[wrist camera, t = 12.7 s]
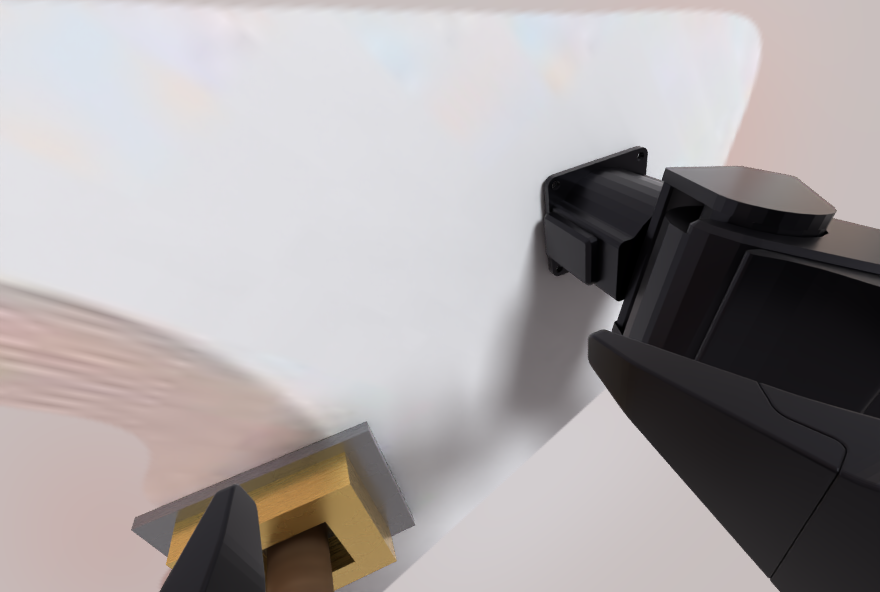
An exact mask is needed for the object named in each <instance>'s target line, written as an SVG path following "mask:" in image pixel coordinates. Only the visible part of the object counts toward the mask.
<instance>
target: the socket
mask: <svg viewBox="0 0 880 592" xmlns="http://www.w3.org/2000/svg"><path fill="white" fill-rule="evenodd" d="M235 483H236V484H239V485H240V486H241V487H242V488H243V489H244V490H245V491H246V492H247V494H248V495H249V496H250V497H251V498H252V499H253V500H254V502H255V504H256V506H257V510H258V519H259V527H260V536H261V545H262V554H263V563H264V572H265V592H267V548H268V547H270V546H272V545H274V544H276V543H279V542H281V541H283V540H285V539H288V538H290V537H292V536H294V535H297V534H299V533H301V532H303V531H305V530H308V529H310V528H312V527H314V526H317V525H319V524H321V523H323V522H326V523H327V532H328V541H329V550H330V559H331V568H332V577H333V586H334V591H335V590H337V589H339V588H341V587H343V586H345V585H347V584H350V583H352V582H354V581H356V580H358V579H360V578H362V577H364V576H366V575H368V574H370V573H373V572H375V571H377V570H379V569H381V568H383V567H385V566H387V565H389V564H391V563H394V562H396V561H397V560H396V555H395V551H394V547H393V542H392V538H391V536H393V535H395V534H397V533H399V532H401V531H404V530H406V529H408V528H410V527H412V526H414V525H415V523H414V519H413V516H412V514H411V512H410V510H409V508H408V506H407V504H406V501H405V499H404V497H403V495H402V493H401V491H400V489H399V487H398V485H397V483H396V481H395V479H394V477H393V475H392V473H391V471H390V469H389V467H388V464H387V462H386V460H385V458H384V456H383V454H382V452H381V450H380V448H379V446H378V444H377V442H376V440H375V438H374V436H373V434H372V432H371V430H370V427H369V425H368V423H367V422H365V423H362V424H360V425H357V426H355V427H353V428H350V429H348V430H345V431H343V432H341V433H338V434H336V435H333V436H331V437H328V438H326V439H324V440H321V441H319V442H316V443H314V444H312V445H309V446H307V447H304V448H302V449H299V450H297V451H295V452H292V453H290V454H287V455H285V456H283V457H280V458H278V459H275V460H273V461H271V462H268V463H266V464H263V465H261V466H258V467H256V468H254V469H251V470H249V471H246V472H244V473H242V474H239V475H237V476H234V477H232V478H229V479H227V480H225V481H222V482H220V483H217V484H215V485H213V486H210V487H208V488H205V489H203V490H201V491H198V492H196V493H193V494H191V495H188V496H186V497H184V498H181V499H179V500H176V501H174V502H172V503H169V504H167V505H164V506H162V507H160V508H157V509H155V510H152V511H150V512H148V513H145V514H143V515H140V516H138V517H136V518H135V520H134V523H133V526H132V529H131V530H132V531H133V532H135V533H136V534H137V535H139V536H140V537H141V538H143V539H144V540H145V541H147V542H148V543H149V544H151V545H152V546H153V547H155V548H156V549H157V550H159V551H160V552H161V553H163V554H164V555H165V556H167V557H168V558H167V562H166V565H167V566H168V567H170V568H171V569H173V567H174V565H175V563H176V562H177V560H178V558H179V556H180V555H181V553H182V551H183V549H184V548H185V546H186V544H187V542H188V541H189V539H190V537H191V535H192V534H193V532H194V530H195V528H196V527H197V525H198V523H199V521H200V519H201V518H202V516H203V514H204V512H205V511H206V509H207V507H208V505H209V504H210V502H211V500H212V498H213V497H214V495H215V494H216V492H217V491H218V490H220V489H222V488H225V487H227V486H229V485H232V484H235Z"/></svg>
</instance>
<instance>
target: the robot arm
mask: <svg viewBox="0 0 880 592" xmlns="http://www.w3.org/2000/svg"><path fill="white" fill-rule="evenodd" d="M638 154H639V156H638V158H637V155H638ZM647 156H648V152H647V149H646V148H644V147H640V146H636V147H633V148H630V149H627V150H624V151H621V152H618V153H615V154H612V155H609V156H606V157H603V158H600V159H597V160H594V161H591V162H588V163H585V164H582V165H580V166H577V167H574V168H571V169H568V170H565V171H562V172H559V173H556V174H553V175H551V176H549V177H548V178H547V179H546V181H545V184H544V191H545V209H546V215H545V218H544V226H545V242H546V254H547V255H548V260H549V270H550V272H551V273H552V274H554V275H555V276H560V275H563V274H565V273H568V272H570V273H572V274H573V275H574V276H576V277H577V278H578V279H580V280H581V281H582V282H583V283H585V284H587V285H592V284H595V285H596V286H598V287H599V288H600V289H602V290H603V291H604V292H606V293H607V294H608V295H610V296H611V297H612V298H614V299H615V300H617V301H622V300H624V302H623V305H622V308H621V311H620V314H619V317H618V320H617V321H615V322H614V325H613V328H612V332H611V331H608V330H600V331H597V332H595V333H592V334H590V335H589V337H588V360H589V363H590V365H591V366H592V368H593V369H594V371H595V372H596V374H597V375H598V377H599V378H600V379H601V381H602V382H603V384H604V385H605V386H606V388H607V389H608V391H609V392H610V393H611V395H612V396H613V398H614V399H615V401H616V402H617V404H618V405H619V406H620V408H621V409H622V410H623V412H624V413H625V414H626V415H627V417H628V418H629V419H630V420H631V421H632V423H633V424H634V425H635V426H636V427H637V428H638V429H639V431H640V432H641V433H642V434H643V435H644V436H645V437H646V438H647V440H648V441H649V442H650V443H651V444H652V446H653V447H654V448H655V449H656V450H657V451H658V452H659V454H660V455H661V456H662V457H663V458H664V459H665V460H666V462H667V463H668V464H669V465H670V466H671V467H672V468H673V470H674V471H675V472H676V473H677V474H678V475H679V476H680V478H681V479H682V480H683V481H684V482H685V483H686V484H687V486H688V487H689V488H690V489H691V490H692V491H693V492H694V493H695V495H696V496H697V497H698V498H699V499H700V500H701V502H702V503H703V504H704V505H705V506H706V507H707V508H708V509H709V511H710V512H711V513H712V514H713V515H714V516H715V517H716V519H717V520H718V521H719V522H720V523H721V524H722V526H723V527H724V528H725V529H726V530H727V531H728V532H729V534H730V535H731V536H732V537H733V538H734V539H735V540H736V542H737V543H738V544H739V545H740V546H741V547H742V548H743V550H744V551H745V552H746V553H747V554H748V555H749V556H750V558H751V559H752V560H753V561H754V562H755V563H756V565H757V566H758V567H759V568H760V569H761V570H762V571H763V572H764V574H765V575H766V576H767V577H768V578H770V581H771V582H772V583H773V584H774V585H775V587H776V588H777V589H778V590H779V591H780V592H880V229H875V228H871V227H867V226H863V225H859V224H855V223H851V222H847V221H842V220H838V219H834V218H833V216H834V215H835V213H836V211H837V210H836V209H835V207H833V206H832V205H831V204H830V203H828V202H827V201H826V200H824V199H823V198H822V197H821V196H819V195H818V194H817V193H816V192H814V191H813V190H812V189H811V188H809V187H808V186H807V185H806V184H804V183H803V182H802V181H801V180H799V179H798V178H797V177H794V176H791V175H786V174H781V173H775V172H770V171H764V170H759V169H754V168H748V167H744V166H715V167H667V168H666V169H665V172H664V175H663V178H662V180H659V179H656V178H653V177H650V176H647V175H646V167H647ZM555 181H556V185H555V186H554V187H553V188H552V184H553V183H554V182H555ZM558 266H559V268H558V269H556V268H557V267H558ZM160 592H265V572H264V563H263V554H262V545H261V536H260V527H259V519H258V510H257V506H256V504H255V502H254V500H253V499H252V498H251V497H250V496H249V495H248V494H247V492H246V491H245V490H244V489H243V488H242V487H241V486H240V485H239V484H236V483H235V484H232V485H229V486H227V487H225V488H222V489H220V490H218V491H217V492H216V494H215V495H214V497H213V498H212V500H211V502H210V504H209V505H208V507H207V509H206V511H205V512H204V514H203V516H202V518H201V519H200V521H199V523H198V525H197V527H196V528H195V530H194V532H193V534H192V535H191V537H190V539H189V541H188V542H187V544H186V546H185V548H184V549H183V551H182V553H181V555H180V556H179V558H178V560H177V562H176V563H175V565H174V567H173V569H172V570H171V572H170V574H169V576H168V577H167V579H166V581H165V583H164V585H163V586H162V588H161V590H160Z"/></svg>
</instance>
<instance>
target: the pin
mask: <svg viewBox="0 0 880 592" xmlns="http://www.w3.org/2000/svg"><path fill="white" fill-rule="evenodd" d="M267 592H334V586H333V577H332V568H331V559H330V550H329V541H328V532H327V523H326V522H323V523H321V524H319V525H317V526H314V527H312V528H310V529H308V530H305V531H303V532H301V533H299V534H297V535H294V536H292V537H290V538H288V539H285V540H283V541H281V542H279V543H276V544H274V545H272V546H270V547H268V548H267Z"/></svg>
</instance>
